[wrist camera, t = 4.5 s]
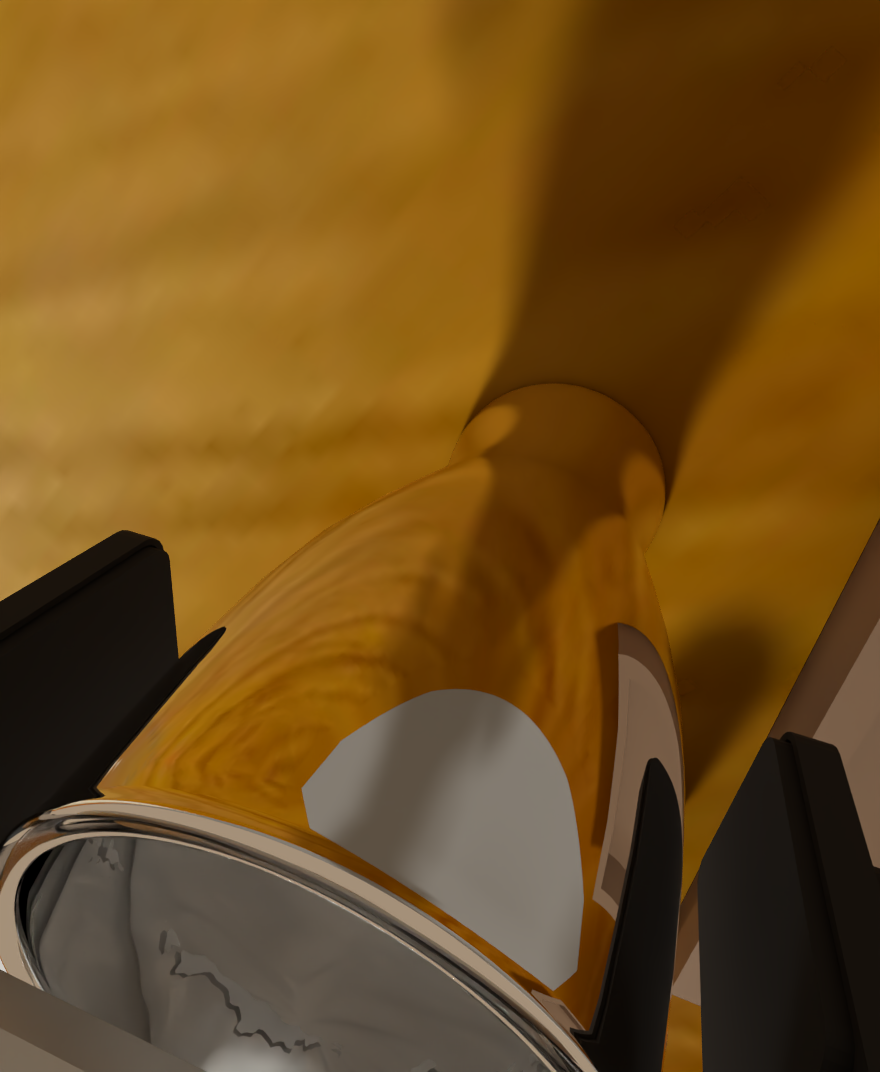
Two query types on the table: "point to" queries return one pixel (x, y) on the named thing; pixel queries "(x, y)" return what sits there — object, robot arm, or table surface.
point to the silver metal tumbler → (397, 788)
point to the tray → (825, 726)
